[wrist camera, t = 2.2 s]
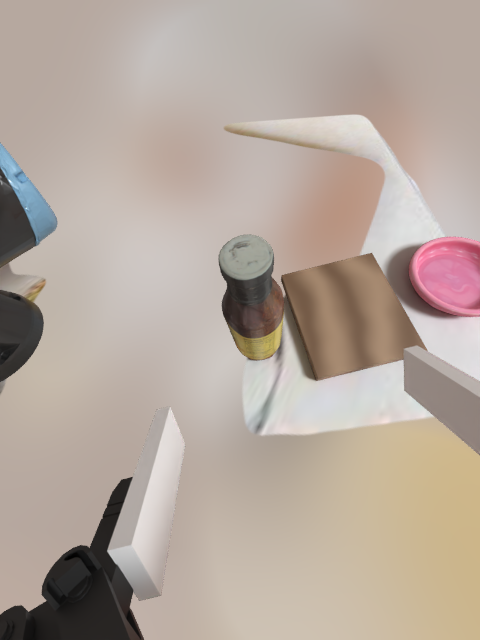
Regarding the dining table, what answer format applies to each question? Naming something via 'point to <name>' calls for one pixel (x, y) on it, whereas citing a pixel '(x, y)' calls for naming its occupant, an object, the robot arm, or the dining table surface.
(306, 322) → the walnut serving board
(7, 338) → the robot arm
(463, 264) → the saucer
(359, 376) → the dining table surface
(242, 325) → the sauce bottle
